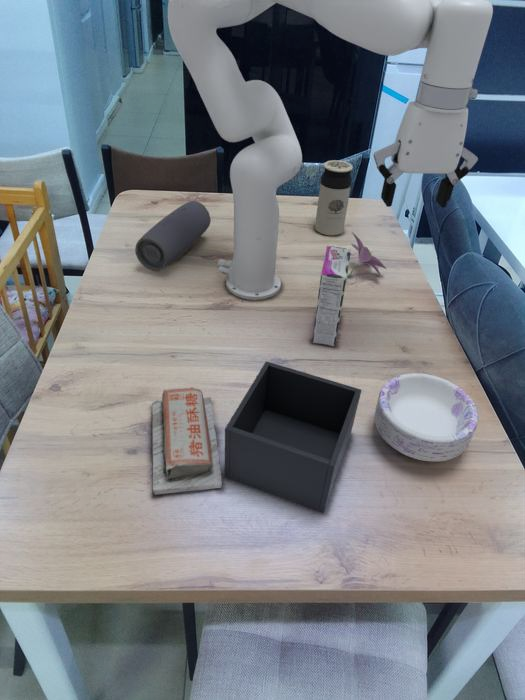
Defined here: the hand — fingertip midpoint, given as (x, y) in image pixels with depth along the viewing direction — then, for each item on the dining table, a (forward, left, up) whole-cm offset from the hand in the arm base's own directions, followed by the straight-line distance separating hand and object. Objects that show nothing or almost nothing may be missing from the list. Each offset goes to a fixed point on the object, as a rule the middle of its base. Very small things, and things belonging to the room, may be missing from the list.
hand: (413, 203), depth 87 cm
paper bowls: (+11, -26, -28) cm, 40 cm away
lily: (-9, +22, -28) cm, 37 cm away
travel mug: (-23, +41, -28) cm, 55 cm away
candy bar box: (-11, -4, -28) cm, 31 cm away
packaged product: (-23, -43, -28) cm, 56 cm away
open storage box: (-7, -38, -28) cm, 48 cm away
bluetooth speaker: (-54, +10, -28) cm, 62 cm away
